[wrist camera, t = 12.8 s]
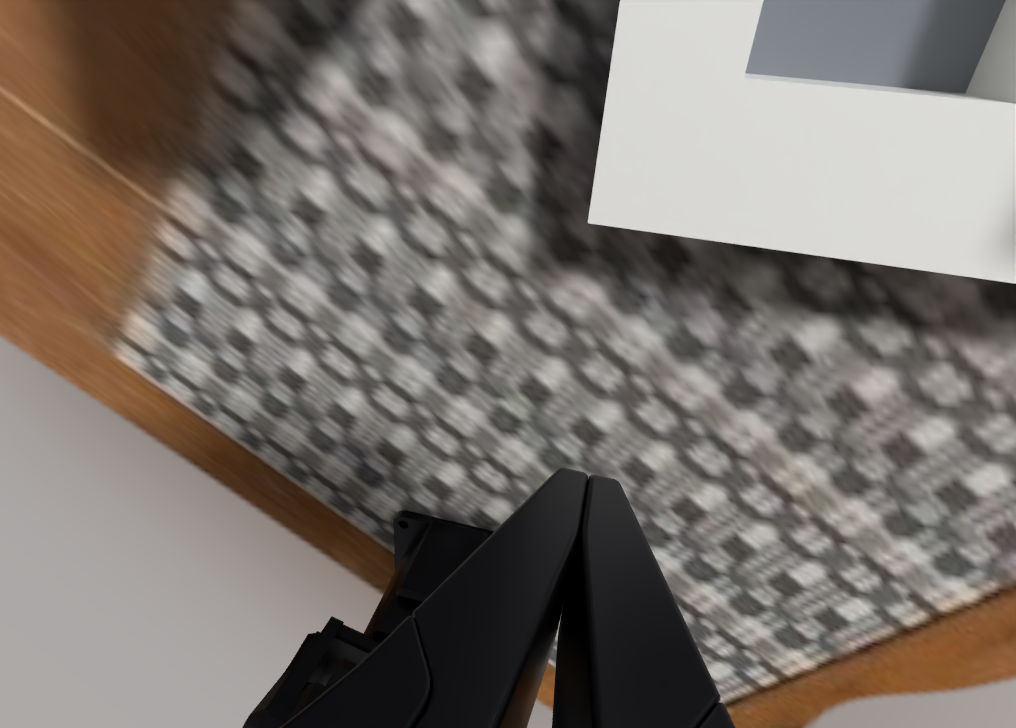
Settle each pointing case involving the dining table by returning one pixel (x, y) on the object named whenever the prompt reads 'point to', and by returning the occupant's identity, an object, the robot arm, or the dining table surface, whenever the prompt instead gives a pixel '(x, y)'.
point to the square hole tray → (817, 129)
